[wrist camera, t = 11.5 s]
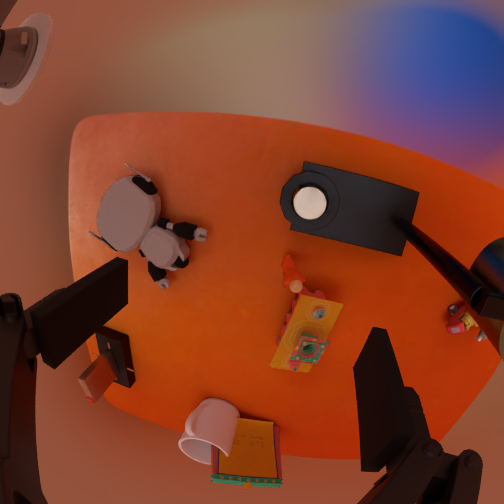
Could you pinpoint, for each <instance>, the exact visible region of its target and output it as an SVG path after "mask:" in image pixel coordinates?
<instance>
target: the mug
mask: <svg viewBox="0 0 504 504" xmlns="http://www.w3.org/2000/svg"><path fill="white" fill-rule="evenodd" d="M236 417H237V418H240V413H239V411H238V409H237V408H236V407H235V406H234V405H233V404H231V403H229V402H227V401H225V400H222V399H218V398H208V399H205V400H203V401H202V402H201V403H200V404H199V406H198V407H197V408H196V409H195V410H193V412H192V413H191V414H190V415H189V417H188V418H187V420H186V422H185V431H184V433H183V435H182V437H181V439H180V440H179V444H178V445H179V447H180V449H181V450H182V452H184V453H185V454H186V455H187V456H189V457H190V458H192V459H194V460H196V461H198V462H201V463H204V464H209V465H211V444H212V445H214V446H216V447H218V448H219V449H221V450H222V451H223V452H224V453H225V455H226V456H228V457H229V455H230V451H231V447H232V443H233V439H234V435H235V431H236V425H237V418H236Z"/></svg>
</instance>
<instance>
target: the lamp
mask: <svg viewBox="0 0 504 504" xmlns="http://www.w3.org/2000/svg"><path fill="white" fill-rule="evenodd" d="M395 228H396V230H397V231H398V232H400V233H401V234H402V235H403V236H404V237H405V238H406V239H407V240H408V241H409V242H410V243H411V244H412V245H413V246H414V247H415V248H416V249H417V250H418V251H419V252H420V253H421V254H422V255H423V256H424V257H425V258H426V259H427V260H428V261H429V262H430V263H431V264H432V265H433V266H434V268H435V269H436V270H437V271H438V272H439V273H440V274H441V275H442V276H443V277H444V278H445V279H446V280H447V282H448V283H449V284H450V285H451V286H452V287H453V288H454V289H455V290H456V292H457V293H458V294H459V295H460V296H461V297H462V298H463V300H464V301H465V305H466V308H467V311H468V313H469V314H470V316H471V317H472V318H473V319H474V321H475V322H476V323H477V325H478V326H479V327H480V328H481V330H482V331H483V332H484V334H485V335H486V336H487V338H488V339H489V341H490V342H491V343H492V345H493V346H494V347H495V349H496V350H497V352H498V353H499V355H500V356H501V358H502V359H503V360H504V237H503V238H499V239H497V240H495V241H493V242H491V243H490V244H488V245H487V246H486V247H485V248H484V249H483V250H482V251H481V252H480V254H479V255H478V256H477V258H476V259H475V261H474V262H473V264H472V266H471V268H470V270H469V269H467V268H466V267H465V266H464V265H463V264H462V263H461V262H459V261H458V260H457V259H456V258H455V257H454V256H452V255H451V254H450V253H449V252H447V251H446V250H445V249H444V248H443V247H441V246H440V245H439V244H438V243H436V242H435V241H434V240H433V239H431V238H430V237H429V236H428V235H426V234H425V233H424V232H422V231H421V230H420V229H418V228H417V227H416V226H414V225H413V224H412V223H410V222H409V221H408V220H406V219H405V218H403V217H400V218H398V219H397V220H396V221H395Z"/></svg>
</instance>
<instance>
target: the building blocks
mask: <svg viewBox="0 0 504 504" xmlns="http://www.w3.org/2000/svg"><path fill="white" fill-rule="evenodd" d="M282 269H283V274H284V279H283V286H284V287H285V286H286V287H290V289H291V291H292V292H294V293H298V298H297V299H293V301H292V312H288V313H287V324H286V325H282V327H281V337H279V336H278V337H277V339H276V342H277V350H276V353H275V355H274V357H273V359H272V361H271V364H270V366H269V367H272V368H278V369H285V370H291V371H298V372H305V373H308V372H309V371H310V369H311V367H312V365H313V364H315V365H317V364H318V363H319V361H320V359H321V357H322V356H323V354H324V352H325V350H326V348H327V346H328V345H329V343H330V341H328V340H326V339H327V337H328V335H329V334H330V332H331V330H332V328H333V326H334V324H335V322H336V320H337V318H338V316H339V314H340V312H341V310H342V308H343V306H344V304H342V303H337V302H333V301H329V300H326V298H325V296H324V294H323V292H322V291H319V290H315V292H314V293H311V292H309V291H308V290H307V289H306V287H303V285H302V284H303V283H304V282H305V280H306V279H305V278H304V277H303V276H302V275H301V274H300V273H299V272H298V271H297V268H296V264H295V262H294V260H293V258H292V256H291V255H285V257H284V260H283V262H282ZM236 418H237V417H236ZM274 423H275V422H266V421H258V420H250V419H243V418H237V425H236V431H235V435H234V439H233V443H232V447H231V451H230V455H229V457H228V456H226V455H225V453H224V452H223V451H222V450H221V449H219V448H218V447H216V446H214V445H212V444H211V477H212V478H213V479H212V480H211V482H217V483H226V484H235V485H244V487H245V488H246V489H247V490H248V489H249V488H250V487H251V486H261V487H262V486H263V487H280V486H281V485H282V484H283V483H281V481H282V471H281V455H280V439H279V426H274Z"/></svg>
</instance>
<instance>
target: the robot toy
mask: <svg viewBox="0 0 504 504" xmlns="http://www.w3.org/2000/svg"><path fill="white" fill-rule="evenodd" d="M124 164H125V166H126V167H128V168H130V169H131V170H133V171H134V172H136V173H137V174H139V175H137V176H132V175H130V176H127V177H123V178H121V179H119V180H117V181H116V182H114V183H113V184H112V185H111V187H110V188H109V189H108V190H107V192H106V193H105V194H104V196H103V197H102V200H101V203H100V206H99V209H98V213H97V229H98V232H99V235H101V238H102V239H101V238H100V237H98V236H96V235H95V234H94V233H93V232H89V234H90V235H92V236H94V237H96V238H97V239H99V240H100V241H102V242H103V243H105V244H106V245H107V246H108V247H109V248H112V249H114V250H115V251H117V252H118V251H121V252H124V253H125V252H129V251H132V250H133V249H135V248H136V247H137V246H138V245H141V249H140V250H139V252H140V254H141V256H142V257H146V259H147V261H148V272H149V273H150V275H151V277H152V279H153V280H154V282H156V281H158V285H159V286H160V288H161V289H166V287H167V288H168V287H170V282H169V279H167V278H166V277H165V276H166V274H167V273H166V271H165V269H168V270H170V271H175V270H177V269H178V268H185V267H186V266H187V265H188V263H189V259H188V256H189V252H190V249H189V247H188V246H187V244H186V243H185V239H188V240H193V239H194V238H195V239H196V240H198V241H201V242H204V241H205V240H206V239H207V237H205V236H207V234H208V232H207V230H205V229H203V228H197V225H194V224H191V223H187V222H181V223H176V224H173V223H170V222H169V219H166V218H163V217H161V218H160V219H159V220H158V218H159V215H160V212H161V199H160V197H159V195H158V193H157V191H158V190H157V189H156V187H155V186H154V184H153V183H152V182H151V178H149V177H146V176H145V175H143V174H142V173H140V172H139V171H137V170H136V169H134V168H133V167H131V166H130V165H129V164H127V163H124ZM157 221H158V223H157ZM156 223H157V224H156ZM201 234H202V235H205V236H202V235H201ZM164 268H165V269H164Z"/></svg>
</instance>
